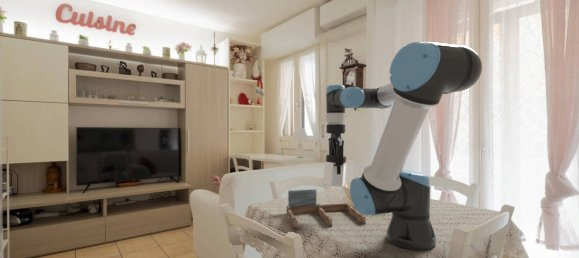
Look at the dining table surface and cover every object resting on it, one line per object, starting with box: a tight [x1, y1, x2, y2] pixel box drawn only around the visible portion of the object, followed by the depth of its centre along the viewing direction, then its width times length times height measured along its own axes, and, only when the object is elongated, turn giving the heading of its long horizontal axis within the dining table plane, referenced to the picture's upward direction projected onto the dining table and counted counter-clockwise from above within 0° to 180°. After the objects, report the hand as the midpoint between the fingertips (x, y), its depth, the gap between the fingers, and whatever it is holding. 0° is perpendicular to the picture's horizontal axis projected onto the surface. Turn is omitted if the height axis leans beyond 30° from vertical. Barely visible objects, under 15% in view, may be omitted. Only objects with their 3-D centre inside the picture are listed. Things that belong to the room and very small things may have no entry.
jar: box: [323, 154, 347, 188], centre depth 119 cm, size 9×8×12 cm
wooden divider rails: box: [286, 188, 367, 230], centre depth 120 cm, size 20×28×10 cm
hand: (335, 180), depth 119 cm, fingers closed on jar, 4 cm apart
